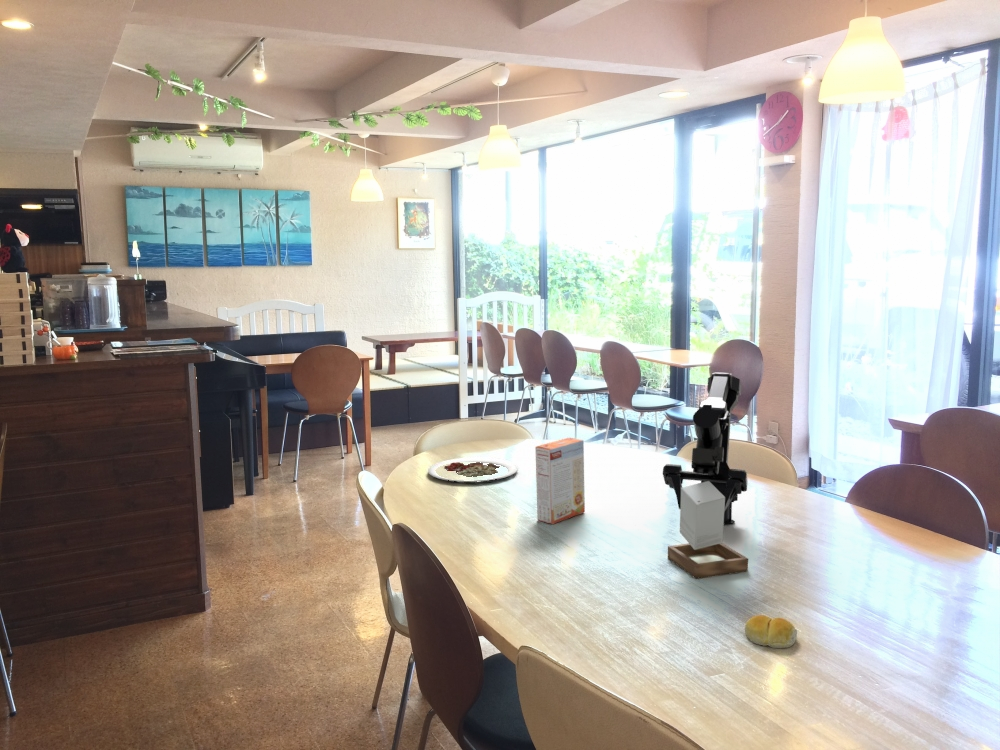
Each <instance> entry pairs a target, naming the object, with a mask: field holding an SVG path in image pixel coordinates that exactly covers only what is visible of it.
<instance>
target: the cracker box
mask: <svg viewBox="0 0 1000 750" xmlns="http://www.w3.org/2000/svg"><path fill="white" fill-rule="evenodd" d="M584 446H585V445H584V440H583V439H577V438H574V437H567V438H562V439H558V440H555V441H552V442H547V443H544V444H540V445H537V446H535V475H536V476H535V478H536V480H535V481H536V483H535V484H536V509H537V510H536V511H537V521H539V522H543V523H546V524H550V525H555V524H557V523H561V522H562V521H565V520H567V519H571V518H573V517H576V516H579V515H581V514H583V513H586V512H585V511H586V510H585V508H586V507H585V504H586V503H585V458H584V457H585V456H584V455H585V454H584V453H585V452H584V451H585V449H584Z"/></svg>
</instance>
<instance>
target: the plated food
mask: <svg viewBox="0 0 1000 750" xmlns="http://www.w3.org/2000/svg"><path fill="white" fill-rule="evenodd" d="M460 462H476V463H470V464H468V465H464V464H463V463H460ZM480 462H481V463H480ZM450 463H451V464H450ZM483 463H489V464H487V465H488V466H487V465H483ZM446 464H450V465H447V466H444V469H446V470H447V471H456V473H457V472H458V473H457V474H458V475H463V476H466V477H472V476H473V477H477V476H483V475H492V474H495V473H498V471H497V470H495V469H496V468H499V467H500V466H496V465H501V466H503V467H506V468H507V469H508V473H507V474H505V475H503V476H500V477H497V478H493V479H487V480H474V481H464V480H453V479H447V478H444V477H441V476H439V475H438V474H437V473H436V471H435V470H436V469H437V468H438V467H440V466H443V465H446ZM494 464H496V465H494ZM518 471H519V467H518V465H517V464H516V463H515V462H513V461H510V460H507V459H501V458H496V457H494V458H493V457H481V456H480V457H478V456H477V457H460V458H451V459H447V460H443V461H442V460H441V461H439V462H437V463H434V464H432V465H430V466H429V468H428V471H427V473H428V474H429V475H430V476H431V477H434V478H437V479H439V480H444V481H448V480H449V482H454V481H460V482H459V483H464V482H475V483H478V482H477V481H487V482H490V481H489V480H493V481H496V480H495V479H497V480H500V479H503V478H504V479H505V478H507V477H510V476H513V475H514V474H516V473H517V472H518Z"/></svg>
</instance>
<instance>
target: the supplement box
mask: <svg viewBox="0 0 1000 750" xmlns="http://www.w3.org/2000/svg"><path fill="white" fill-rule="evenodd" d="M724 508H725V497H724V496H723V495H722V494H721V493H720V492H719V491H718V490H717V489H716V488H715V487H714V486H713V485H712V483H711V482H710V481H706V482H702V483H701V482H700V483H695V484H690V485H688V486H682V488H681V506H680V509H679V533H680V534H681V536H682V537H683V538H684V539H685V540H686V542H687V544H688V543H689V544H690V545H691V546H692V548H693V549H694V550H697V549H701V548H705V547H708V546H712V545H716V544H720V543H723V538H724V525H725V524H724Z"/></svg>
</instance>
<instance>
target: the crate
mask: <svg viewBox="0 0 1000 750" xmlns="http://www.w3.org/2000/svg"><path fill="white" fill-rule="evenodd" d="M667 559H668V560H669V561H671V562H672V563H673V564H674V565H677V566H678V567H679V568H680V569H682V570H683V571H685V572H686V573H688V574H689V575H691V577H693V578H695V579H705V578H711V577H718V576H719V577H720V576H726V575H732V574H739V573H746V572H748V571H749V557H746V556H745V555H743V554H742V553H740V552H738V551H737V550H735V549H733V548H732V547H730V546H729V545H726V544H725V543H723V542H722V543H720V544H716V545H712V546H708V547H705V548H701V549H697V550H694V549H693V548H692V546H691V545H690V544H689V543H688V542H687V543H683V544H682V543H681V544H674V545H668V546H667Z"/></svg>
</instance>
